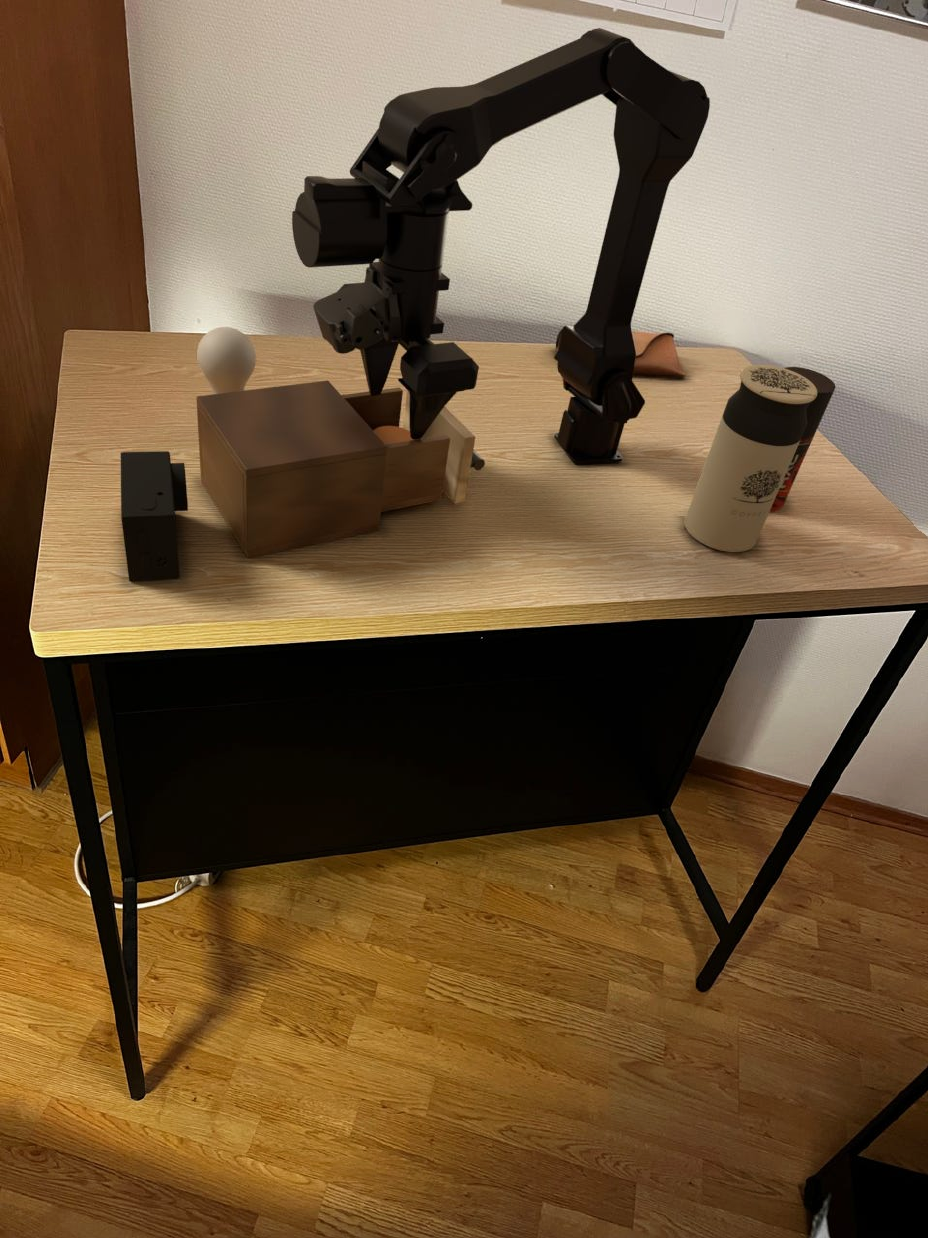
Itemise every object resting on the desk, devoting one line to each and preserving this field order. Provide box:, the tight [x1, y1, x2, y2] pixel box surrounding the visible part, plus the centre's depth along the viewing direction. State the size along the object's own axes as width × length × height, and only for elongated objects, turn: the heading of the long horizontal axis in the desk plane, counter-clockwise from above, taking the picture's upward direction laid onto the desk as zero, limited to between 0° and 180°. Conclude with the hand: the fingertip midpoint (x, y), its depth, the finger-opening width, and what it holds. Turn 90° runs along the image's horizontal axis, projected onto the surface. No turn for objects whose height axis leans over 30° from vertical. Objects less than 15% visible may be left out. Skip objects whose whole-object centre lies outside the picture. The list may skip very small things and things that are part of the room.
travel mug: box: [683, 364, 817, 553], centre depth 93 cm, size 8×8×18 cm
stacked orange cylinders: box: [374, 426, 413, 445], centre depth 93 cm, size 5×5×4 cm
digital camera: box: [120, 450, 189, 582], centre depth 81 cm, size 10×5×7 cm, turn 17°
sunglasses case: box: [555, 328, 687, 378], centre depth 128 cm, size 18×7×7 cm, turn 102°
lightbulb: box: [196, 326, 257, 395], centre depth 98 cm, size 6×6×11 cm
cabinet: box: [195, 380, 387, 559], centre depth 88 cm, size 14×14×10 cm
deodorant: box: [769, 366, 836, 513], centre depth 101 cm, size 6×6×15 cm
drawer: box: [341, 387, 486, 513], centre depth 94 cm, size 17×12×8 cm
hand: (394, 415), depth 90 cm, fingers open, 9 cm apart
